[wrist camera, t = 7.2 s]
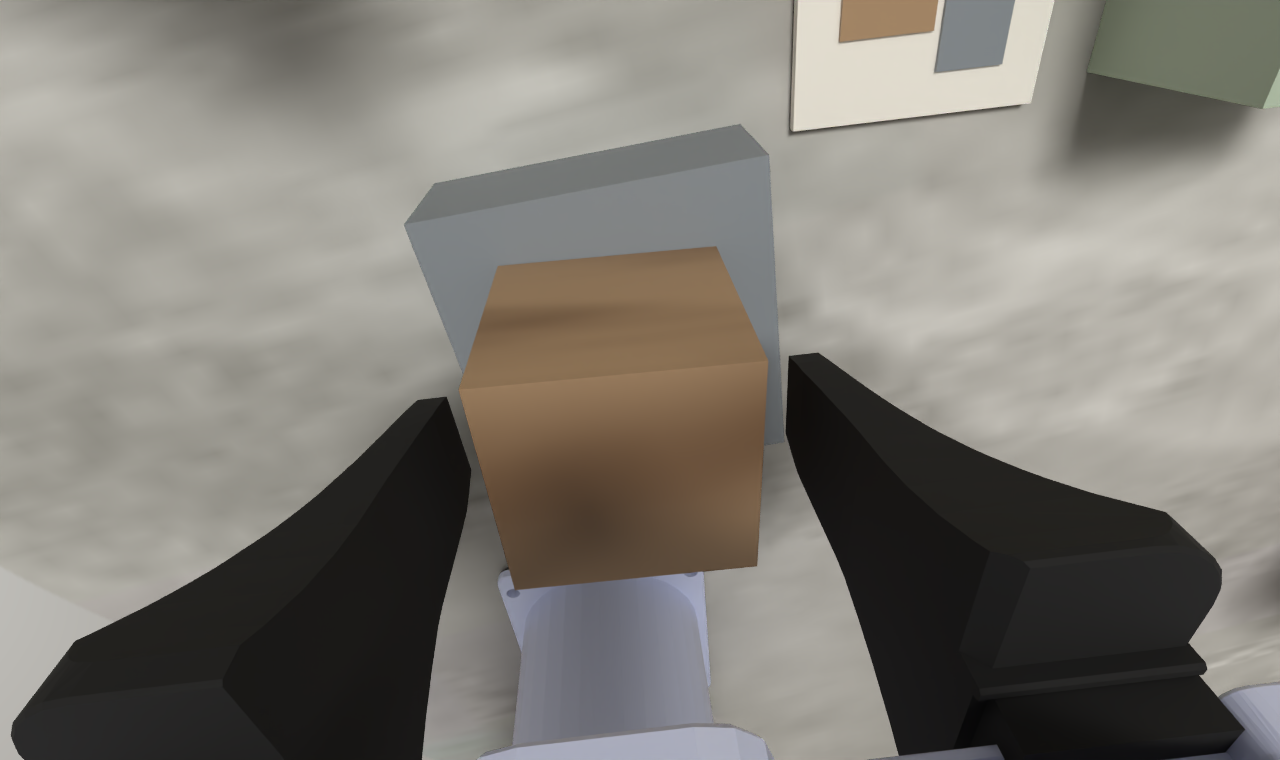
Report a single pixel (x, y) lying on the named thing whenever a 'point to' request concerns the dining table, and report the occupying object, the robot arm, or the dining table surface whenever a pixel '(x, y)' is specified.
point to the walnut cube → (619, 417)
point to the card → (912, 58)
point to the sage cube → (1194, 47)
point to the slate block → (608, 226)
